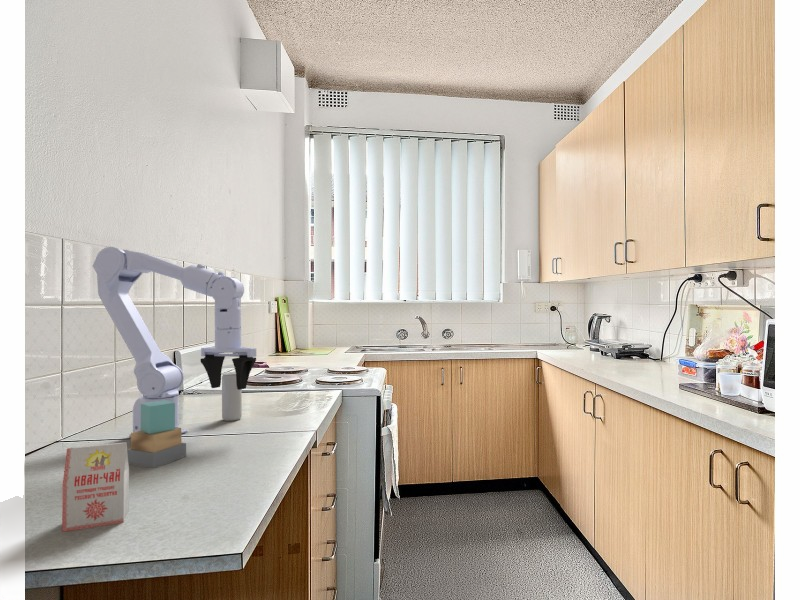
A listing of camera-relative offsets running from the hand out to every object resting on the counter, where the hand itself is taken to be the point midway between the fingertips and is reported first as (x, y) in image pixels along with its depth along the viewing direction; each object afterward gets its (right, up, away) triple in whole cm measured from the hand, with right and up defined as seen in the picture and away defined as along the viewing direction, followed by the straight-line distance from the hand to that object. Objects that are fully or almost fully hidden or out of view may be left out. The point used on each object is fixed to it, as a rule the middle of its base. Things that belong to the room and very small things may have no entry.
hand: (228, 388), depth 106 cm
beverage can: (-5, -11, +15) cm, 19 cm away
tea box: (-1, -9, -44) cm, 45 cm away
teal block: (-7, -4, -18) cm, 20 cm away
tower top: (-7, -7, -19) cm, 21 cm away
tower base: (-7, -10, -19) cm, 22 cm away
